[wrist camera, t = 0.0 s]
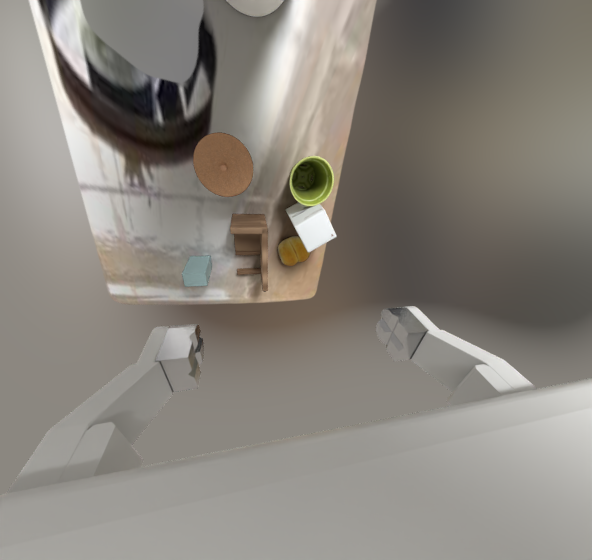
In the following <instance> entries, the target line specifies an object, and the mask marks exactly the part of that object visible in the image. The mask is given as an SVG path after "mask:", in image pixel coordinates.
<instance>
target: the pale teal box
mask: <svg viewBox="0 0 592 560" xmlns="http://www.w3.org/2000/svg"><path fill="white" fill-rule="evenodd" d="M211 270H212V263H211V257H210V256H190V257H189V260H188V262H187V264H186V266H185V268H184V271H183V273H182V277H183V281H184V285H185V287H189V286H207V285H208V281H209V277H210V273H211Z"/></svg>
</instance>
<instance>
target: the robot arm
mask: <svg viewBox="0 0 592 560" xmlns="http://www.w3.org/2000/svg"><path fill="white" fill-rule="evenodd" d="M226 1H227V2H228V3H229V4H230V5H231V6H232V7H234V8H235V9H236V10H238V11H239V12H241V13H243V14H246V15H249V16H254V17H260V16H265V15H268V14H270V13H272V12H273V11H275V10H276V9H277V8H278V7H279V6H280V5H281V4H282V3H283V1H284V0H226ZM381 317H382V319H381V320H380V321H379V322H378V323H377V326H376V333H377V335H378V338H379V340H380V341H381V342H382V343H384V344H386V350H387V352H388V353H389V355H390V356H391V358H392V359H393V361H402V360H411V361H412V362H413V363H415V364H416V365H417V366H418V367H420V368H421V369H422V370H424V371H425V372H426V373H428V374H429V375H430V376H432V377H433V378H434V379H436V380H437V381H438V382H440V383H441V384H442V385H444V386H445V387H446V388H447V389H449V390H450V391H451V392H452V394H451V395H450V396H449V397H448V398H447V403H448V404H449V405H450V406H447V407H443V408H437V409H432V410H427V411H422V412H417V413H412V414H407V415H402V416H397V417H391V418H386V419H381V420H376V421H371V422H366V423H361V424H356V425H351V426H346V427H341V428H336V429H331V430H325V431H320V432H315V433H311V434H305V435H300V436H295V437H290V438H285V439H280V440H274V441H269V442H264V443H259V444H254V445H249V446H244V447H239V448H234V449H229V450H224V451H219V452H214V453H209V454H204V455H199V456H193V457H189V458H184V459H178V460H173V461H168V462H163V463H158V464H153V465H148V466H143V467H141V466H142V463H143V459H142V457H141V456H140V455H139V453H138V452H137V451H136V450H135V449H134V448H133V446H132V445H133V444H134V442H135V441H136V440H137V438H138V437H139V436H140V435H141V434H142V432H143V431H144V430H145V429H146V427H147V426H148V425H149V424H150V422H151V421H152V420H153V418H154V417H155V416H156V415H157V414H158V412H159V411H160V410H161V408H162V407H163V406H164V404H165V403H166V402H167V401H168V400H169V398H170V397H171V396H172V395H173V392H179V391H185V390H190V389H197V388H198V384H199V379H200V374H201V371H200V367H199V365H200V364H202V362H203V358H204V343H203V339H202V338H201V337H200V332H201V330H200V326H199V325H198V324H194V325H179V326H178V325H177V326H165V327H156V328H155V329H153V331H152V332H151V335H150V337H149V339H148V341H147V343H146V345H145V347H144V349H143V351H142V353H141V356H140V357H139V360H138V361H137V364H132V365H130V366H129V367H128V368H127V369H125V370H124V371H123V372H121V373H120V374H119V375H118V376H116V377H115V378H114V379H113V380H111V381H110V382H109V383H108V384H107V385H105V386H104V387H103V388H101V389H100V390H99V391H97V392H96V393H95V394H94V395H93V396H91V397H90V398H89V399H87V400H86V401H85V402H84V403H82V404H81V405H80V406H79V407H77V408H76V409H75V410H73V411H72V412H71V413H70V414H68V415H67V416H66V417H65V418H63V419H62V420H61V421H60V422H58V423H57V424H56V425H55V426H53V427H52V428H51V429H49V431H48V432H47V434H46V435H45V436H44V438H43V439H42V441H41V442H40V444H39V445H38V447H37V448H36V450H35V451H34V453H33V454H32V456H31V457H30V459H29V460H28V462H27V463H26V465H25V466H24V468H23V469H22V471H21V472H20V474H19V475H18V477H17V478H16V480H15V481H14V482H13V484H12V486H11V487H10V489H9V490H8V492H7V493H6V494H1V495H0V560H592V378H590V379H585V380H580V381H575V382H569V383H564V384H559V385H554V386H549V387H544V388H539V389H537V388H536V387H535V386H534V385H532V384H531V383H530V382H529V381H528V380H527V379H525V378H524V377H523V376H522V375H521V374H520V373H519V372H517V371H516V370H515V369H514V368H513V367H512V366H511V365H509V364H508V363H507V362H506V361H505V360H503V359H501V358H499V357H497V356H495V355H492V354H491V353H489V352H487V351H485V350H483V349H480V348H478V347H476V346H474V345H472V344H470V343H468V342H466V341H464V340H462V339H460V338H458V337H456V336H454V335H452V334H450V333H448V332H446V331H444V330H439V329H438V328H437V327H436V326H435V325H434V324H433V323H432V322H431V321H430V320H429V319H428V318H427V317H426V316H425V315H424V314H423V313H422V312H421V311H420V310H419V309H418V308H417V307H414V306H409V307H401V308H400V307H399V308H388V309H384V310H383V311H382V313H381Z"/></svg>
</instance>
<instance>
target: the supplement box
mask: <svg viewBox="0 0 592 560" xmlns="http://www.w3.org/2000/svg"><path fill="white" fill-rule="evenodd" d="M286 212H287V214H288V216H289V217H290V219H291V221H292V223H293V225H294V227H295V229H296V231H297V233H298V235H299V237H300V239H301V241H302V243H303V244H304V246H305V248H306V250H307V252H311V251H312V250H314V249H316V248H318V247H319V246H321V245H323V244H325V243H326V242H328V241H330V240H332V239H333V238H335V237H337V236H336V234H335V231H334V229H333V227H332V225H331V223H330V221H329V218H328V216H327V214H326V212H325V210H324V209H323V208H322V206H321V205H320V204H318V205H315V206H305V205H302V204H300V203H299V202H298V203H296V204H294V205H293V206H291V207H289V208H287V209H286Z"/></svg>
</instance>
